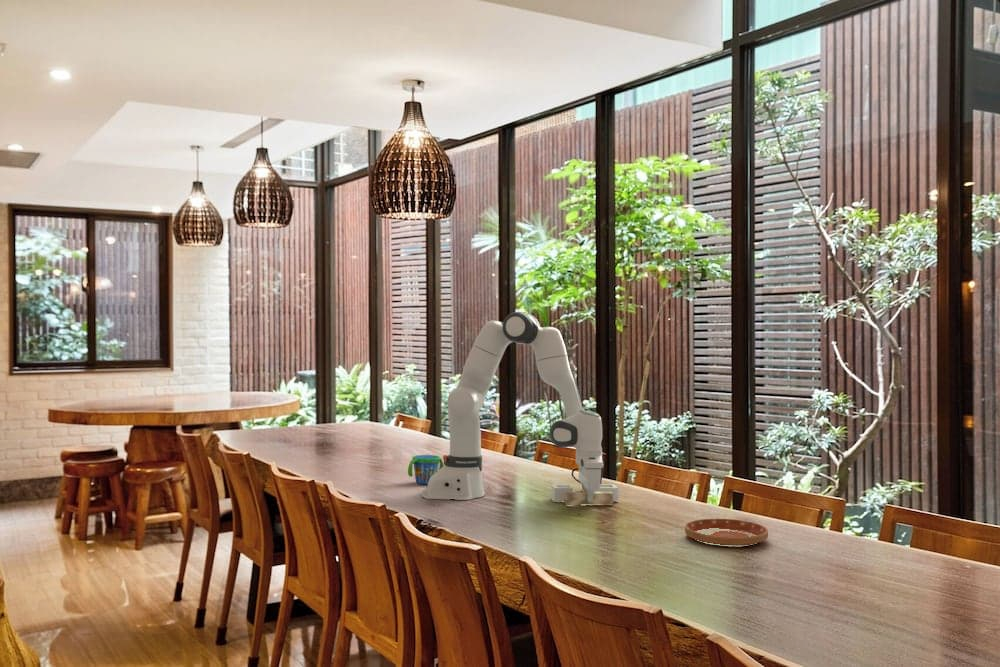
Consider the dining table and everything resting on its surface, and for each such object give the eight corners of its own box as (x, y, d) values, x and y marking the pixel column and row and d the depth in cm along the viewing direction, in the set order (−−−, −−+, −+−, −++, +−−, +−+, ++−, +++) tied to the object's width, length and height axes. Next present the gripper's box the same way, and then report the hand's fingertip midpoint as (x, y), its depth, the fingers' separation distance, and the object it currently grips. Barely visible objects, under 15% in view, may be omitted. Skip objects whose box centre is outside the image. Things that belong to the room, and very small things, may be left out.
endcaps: (554, 502, 290) (554, 488, 290) (551, 498, 297) (551, 484, 296) (618, 502, 291) (618, 487, 291) (613, 498, 298) (614, 484, 298)
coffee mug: (603, 489, 314) (603, 462, 314) (603, 494, 306) (604, 466, 306) (571, 488, 316) (571, 461, 316) (571, 493, 307) (571, 465, 307)
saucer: (710, 552, 228) (710, 539, 228) (670, 532, 250) (671, 520, 250) (784, 547, 234) (784, 534, 234) (740, 528, 256) (740, 516, 256)
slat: (565, 507, 284) (565, 493, 284) (564, 505, 287) (564, 491, 287) (612, 506, 286) (612, 493, 286) (610, 504, 289) (610, 491, 289)
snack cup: (436, 479, 332) (436, 453, 332) (450, 483, 324) (451, 456, 323) (401, 483, 323) (401, 456, 323) (415, 487, 314) (415, 460, 314)
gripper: (574, 454, 297) (574, 493, 297) (584, 463, 276) (584, 506, 276) (592, 454, 297) (592, 493, 297) (604, 463, 277) (603, 506, 277)
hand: (588, 500), depth 287 cm, fingers open, 3 cm apart
